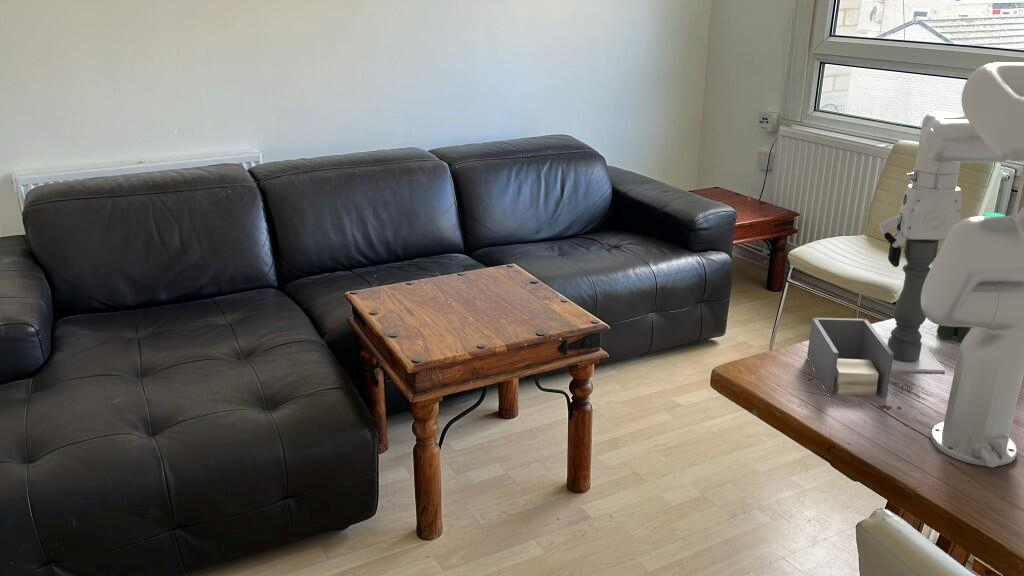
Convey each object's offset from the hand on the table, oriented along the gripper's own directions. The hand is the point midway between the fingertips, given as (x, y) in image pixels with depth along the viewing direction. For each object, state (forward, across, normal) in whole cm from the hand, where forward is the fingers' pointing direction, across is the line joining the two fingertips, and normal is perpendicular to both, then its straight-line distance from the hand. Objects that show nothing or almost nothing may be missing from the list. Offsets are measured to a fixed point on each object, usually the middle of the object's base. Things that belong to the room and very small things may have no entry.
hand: (919, 265), depth 159 cm
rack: (+20, -14, -9) cm, 26 cm away
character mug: (+20, +14, +11) cm, 27 cm away
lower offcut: (+21, -14, -13) cm, 28 cm away
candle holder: (+20, 0, 0) cm, 20 cm away
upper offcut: (+18, -14, -13) cm, 27 cm away
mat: (+20, 0, 0) cm, 20 cm away
